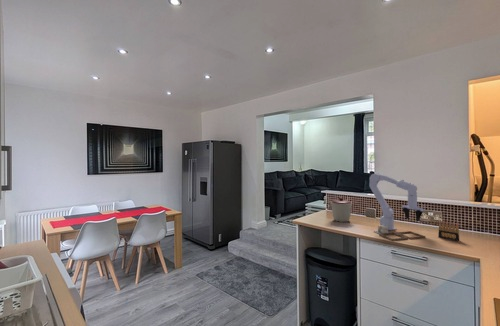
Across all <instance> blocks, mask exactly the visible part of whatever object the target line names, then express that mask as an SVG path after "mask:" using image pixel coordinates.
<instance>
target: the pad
mask: <svg viewBox="0 0 500 326" xmlns="http://www.w3.org/2000/svg"><path fill="white" fill-rule="evenodd" d="M373 233H375V234H378V235H379V234H382V233H380V232H378V230H376V231H375V230H374V231H373ZM388 233H392V232H391V231H388Z"/></svg>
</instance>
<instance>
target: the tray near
mask: <svg viewBox="0 0 500 326" xmlns="http://www.w3.org/2000/svg"><path fill="white" fill-rule="evenodd" d="M378 235H379V236H380V237H382V238H384V239H388V240H390V241H392V242H393V241H405V240H409V239H408V238H407V237H405V236H402V235H399V234H396V232H391V233H382V234H378ZM391 235H395V236H396V237H397V238H395V237H394V238H391V237H388V236H391ZM398 237H399V238H398Z"/></svg>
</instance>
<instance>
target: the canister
mask: <svg viewBox="0 0 500 326" xmlns="http://www.w3.org/2000/svg"><path fill="white" fill-rule="evenodd" d="M330 204H331V211H332V212H331V213H332V218H333V220H334V221H336V222H338V221H339V223H345V222H349V220H351V214H352V213H351V212H352V204H353V202H352V201H350V200H349V199H348V200H347V199H344V197H343V196H339V198H338V199H333V200H331V201H330Z"/></svg>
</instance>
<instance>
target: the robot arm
mask: <svg viewBox="0 0 500 326" xmlns="http://www.w3.org/2000/svg"><path fill="white" fill-rule="evenodd" d="M380 181H386V182H387V183H388V182H389V183H391V184H393V185H395V186H396V188H398V189H401V190H404V191H407V205H403V204H402V206H401V208H402V211H403V214H404V215H405V218H406V219H410V211H411V210H413V211H414V213H415V220H416V221H420V219H421V216H422V215H423V213H424V208H421V207H419V206H418V195H417V194H418V192H417V191H418V187H417V185H415V184H414V183H411V182H406V181H405V180H404V179H398V180H397V179H395V178H392V177H390V176H388V175H385V174H382V173H377V172H376V173H372V174H371V175H370V177H369V185H368V186H369V188H370V190H371V191H372V193H373V195H374V197H375V199H376V200H377V202H378V204H379V205H380V208H381V211H382V216H380V218H379V225H384V226H387V227H388V231H394V230H395V231H396V230H397V228H395V226H394V225H395V223H394V222H395V217H394V214H395V210H394V209H393V208H391V207H390V205H389V204H388V202H387V201H386V200H385V198H384V196H383V194H382V192H381V190H380V189H379V187H378V185H379V182H380Z"/></svg>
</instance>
